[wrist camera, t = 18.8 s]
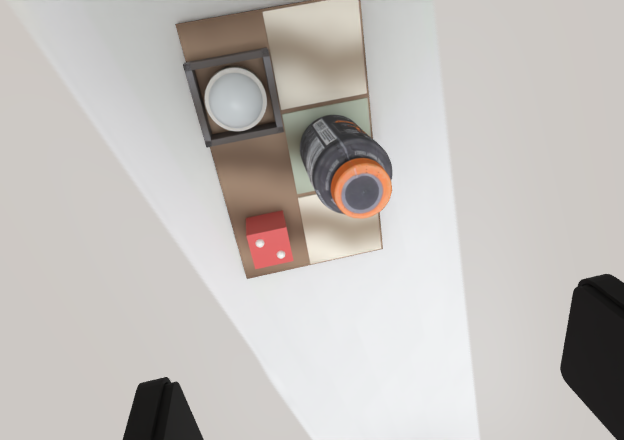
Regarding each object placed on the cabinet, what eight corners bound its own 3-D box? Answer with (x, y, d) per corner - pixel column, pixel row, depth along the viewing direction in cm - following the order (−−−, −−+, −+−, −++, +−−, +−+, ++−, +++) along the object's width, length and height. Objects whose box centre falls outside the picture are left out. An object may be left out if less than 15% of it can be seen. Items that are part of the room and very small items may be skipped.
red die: (245, 218, 39) (246, 238, 36) (282, 210, 40) (286, 229, 36) (254, 249, 41) (255, 271, 38) (289, 242, 41) (294, 263, 38)
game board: (177, 24, 32) (171, 24, 30) (356, -8, 33) (366, -10, 31) (246, 273, 43) (247, 290, 41) (379, 244, 44) (388, 258, 42)
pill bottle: (376, 142, 38) (425, 188, 28) (331, 189, 39) (363, 248, 29) (330, 98, 36) (365, 131, 26) (285, 149, 37) (301, 199, 27)
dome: (199, 71, 33) (194, 78, 29) (258, 60, 33) (261, 66, 30) (215, 129, 35) (212, 143, 31) (270, 119, 36) (274, 131, 32)
